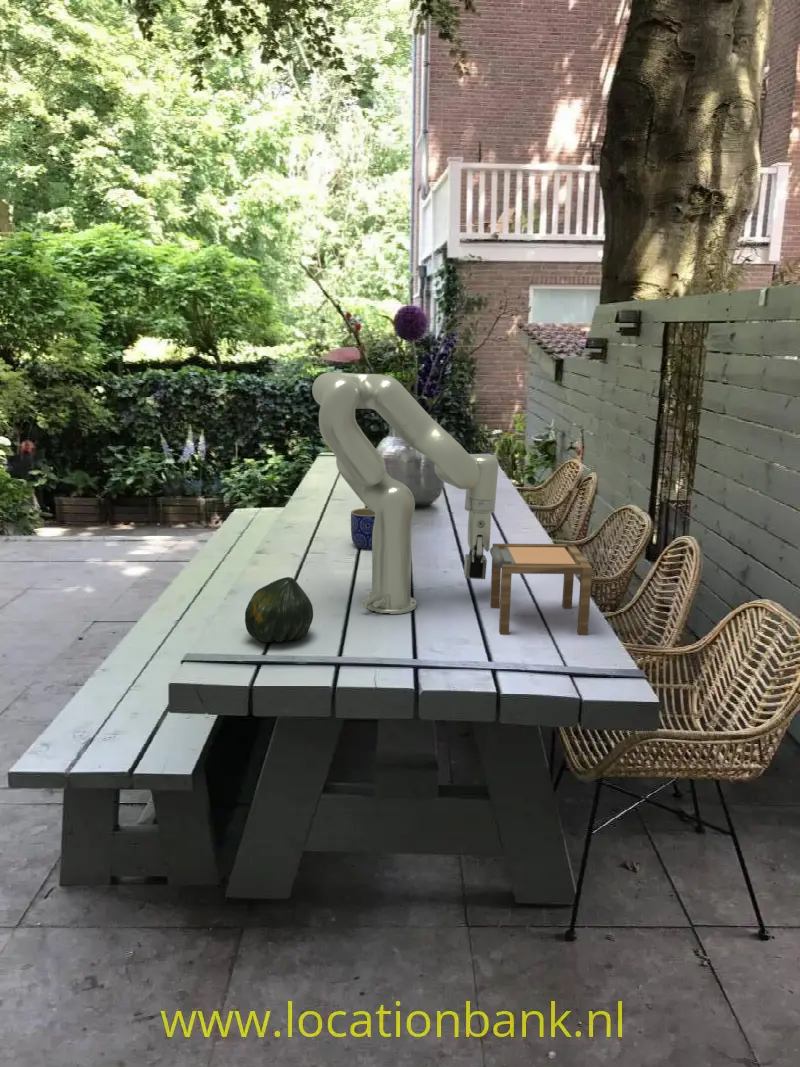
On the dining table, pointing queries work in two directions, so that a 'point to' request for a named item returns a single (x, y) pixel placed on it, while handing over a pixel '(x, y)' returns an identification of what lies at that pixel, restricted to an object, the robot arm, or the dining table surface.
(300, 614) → the squash
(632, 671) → the dining table surface
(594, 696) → the dining table surface
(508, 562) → the trapdoor
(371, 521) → the planter
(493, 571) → the frame
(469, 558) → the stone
